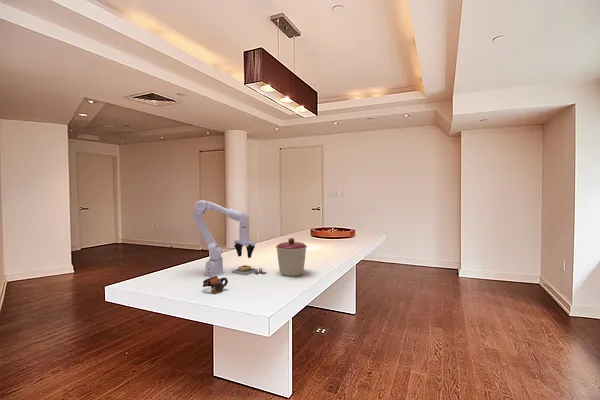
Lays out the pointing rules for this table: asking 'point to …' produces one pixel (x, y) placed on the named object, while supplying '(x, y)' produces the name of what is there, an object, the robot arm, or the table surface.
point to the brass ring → (244, 268)
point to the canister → (291, 257)
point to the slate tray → (244, 272)
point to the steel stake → (260, 272)
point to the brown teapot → (215, 284)
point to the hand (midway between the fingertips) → (244, 257)
